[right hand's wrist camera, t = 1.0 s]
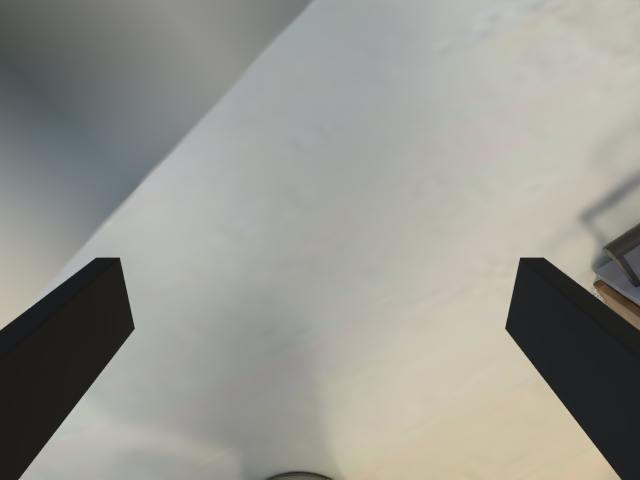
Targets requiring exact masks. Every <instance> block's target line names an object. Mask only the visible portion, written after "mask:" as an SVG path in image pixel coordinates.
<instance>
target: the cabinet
mask: <svg viewBox="0 0 640 480" xmlns="http://www.w3.org/2000/svg"><path fill="white" fill-rule="evenodd" d="M594 287H595V288H596V289H597V291H598V292H599V294H600V295H601V297H602V298H603V299H604V301H605V302H606V304H607V305H608V306H609V308H611V309H612V310H613V311H615V312H616V313H617V314H619V315H620V316H621V317H623V318H624V319H625V320H627V321H628V322H629V323H631V324H632V325H633V326H635V327H636V328H637V329H639V330H640V307H638V306H637V305H635V304H634V303H632V302H631V301H629V300H628V299H626V298H625V297H623V296H622V295H621V294H620V293H619V292H618V291H617V290H615V289H614V288H612V287H611V286H609V285H608V284H606V283H605V282H603V281H602V280H600V281H598V282H597V283H595V284H594Z"/></svg>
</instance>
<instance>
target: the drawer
mask: <svg viewBox="0 0 640 480" xmlns="http://www.w3.org/2000/svg"><path fill="white" fill-rule="evenodd" d="M603 250H604V252H605V253H606V254H607V255H608V256H609V257H610V258H612V259H613V260H611V261H610V262H608V263H606V264H605V265H603V266H602V267H600V268H599V269H597V270H596V271H595V273H596V275H597V276H598V277H599V279H600V280H602V281H603V282H605V283H606V284H608V285H609V286H611V287H612V288H614V289H615V290H617V291H618V292H619V293H620V294H621V295H622V296H623V297H625V298H626V299H628V300H629V301H631V302H632V303H634V304H635V305H637V306H638V307H640V223H639V224H638V225H636V226H635V227H633V228H632V229H630V230H629V231H627V232H626V233H624V234H623V235H621V236H620V237H618V238H617V239H615V240H614V241H612V242H611V243H609V244H608V245H606V246H605V247H603Z"/></svg>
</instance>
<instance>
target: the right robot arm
mask: <svg viewBox="0 0 640 480" xmlns="http://www.w3.org/2000/svg"><path fill="white" fill-rule="evenodd" d="M134 329H135V327H134V323H133V318H132V313H131V308H130V304H129V299H128V294H127V290H126V285H125V280H124V275H123V271H122V266H121V261H120V258H95V259H94V260H93V261H91V262H90V263H89V264H87V265H86V266H85V267H83V268H82V269H81V270H79V271H78V272H77V273H75V274H74V275H73V276H71V277H70V278H69V279H67V280H66V281H65V282H64V283H62V284H61V285H60V286H58V287H57V288H56V289H54V290H53V291H52V292H50V293H49V294H48V295H46V296H45V297H44V298H42V299H41V300H40V301H38V302H37V303H36V304H34V305H33V306H32V307H31V308H29V309H28V310H27V311H25V312H24V313H23V314H21V315H20V316H19V317H17V318H16V319H15V320H13V321H12V322H11V323H9V324H8V325H7V326H5V327H4V328H3V329H1V330H0V480H19V478H20V477H21V476H22V474H23V473H24V472H25V470H26V469H27V468H28V467H29V465H30V464H31V463H32V461H33V460H34V459H35V457H36V456H37V455H38V454H39V452H40V451H41V450H42V448H43V447H44V446H45V444H46V443H47V442H48V441H49V439H50V438H51V437H52V435H53V434H54V433H55V432H56V430H57V429H58V428H59V426H60V425H61V424H62V422H63V421H64V420H65V419H66V417H67V416H68V415H69V413H70V412H71V411H72V409H73V408H74V407H75V406H76V404H77V403H78V402H79V400H80V399H81V398H82V396H83V395H84V394H85V393H86V391H87V390H88V389H89V387H90V386H91V385H92V383H93V382H94V381H95V380H96V378H97V377H98V376H99V374H100V373H101V372H102V371H103V369H104V368H105V367H106V365H107V364H108V363H109V361H110V360H111V359H112V358H113V356H114V355H115V354H116V352H117V351H118V350H119V348H120V347H121V346H122V345H123V343H124V342H125V341H126V339H127V338H128V337H129V335H130V334H131V333H132V332H133V330H134ZM505 329H506V330H507V332H508V333H509V334H510V335H511V337H512V338H513V339H514V341H515V342H516V343H517V345H518V346H519V347H520V348H521V350H522V351H523V352H524V354H525V355H526V356H527V358H528V359H529V360H530V361H531V363H532V364H533V365H534V367H535V368H536V369H537V371H538V372H539V373H540V374H541V376H542V377H543V378H544V380H545V381H546V382H547V383H548V385H549V386H550V387H551V389H552V390H553V391H554V393H555V394H556V395H557V396H558V398H559V399H560V400H561V402H562V403H563V404H564V406H565V407H566V408H567V409H568V411H569V412H570V413H571V415H572V416H573V417H574V419H575V420H576V421H577V422H578V424H579V425H580V426H581V428H582V429H583V430H584V432H585V433H586V434H587V435H588V437H589V438H590V439H591V441H592V442H593V443H594V444H595V446H596V447H597V448H598V450H599V451H600V452H601V454H602V455H603V456H604V457H605V459H606V460H607V461H608V463H609V464H610V465H611V467H612V468H613V469H614V470H615V472H616V473H617V474H618V476H619V477H620V478H621V480H640V330H639V329H637V328H636V327H635V326H633V325H632V324H631V323H629V322H628V321H627V320H625V319H624V318H623V317H621V316H620V315H619V314H617V313H616V312H615V311H613V310H612V309H611V308H609V307H608V306H607V305H606V304H604V303H603V302H602V301H600V300H599V299H598V298H596V297H595V296H594V295H592V294H591V293H590V292H588V291H587V290H586V289H584V288H583V287H582V286H580V285H579V284H578V283H576V282H575V281H574V280H573V279H571V278H570V277H569V276H567V275H566V274H565V273H563V272H562V271H561V270H559V269H558V268H557V267H555V266H554V265H553V264H551V263H550V262H549V261H547V260H546V259H545V258H520V261H519V266H518V271H517V275H516V280H515V285H514V290H513V294H512V299H511V304H510V308H509V313H508V318H507V323H506V327H505ZM268 480H330V479H327V478H325V477H322V476H318V475H314V474H308V473H290V474H283V475H279V476H276V477H273V478H270V479H268Z"/></svg>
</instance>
